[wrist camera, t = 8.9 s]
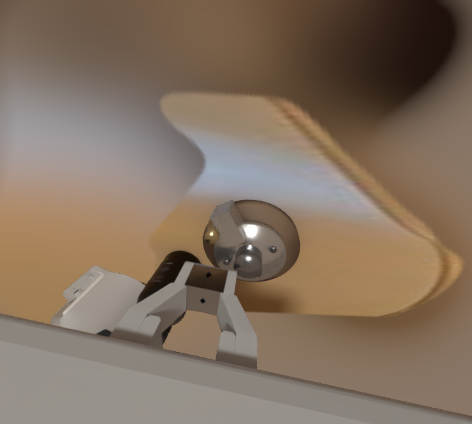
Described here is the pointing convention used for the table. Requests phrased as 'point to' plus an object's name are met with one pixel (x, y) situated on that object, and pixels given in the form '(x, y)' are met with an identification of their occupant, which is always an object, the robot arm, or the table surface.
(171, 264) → the supplement bottle
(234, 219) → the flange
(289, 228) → the walnut base
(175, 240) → the table surface
